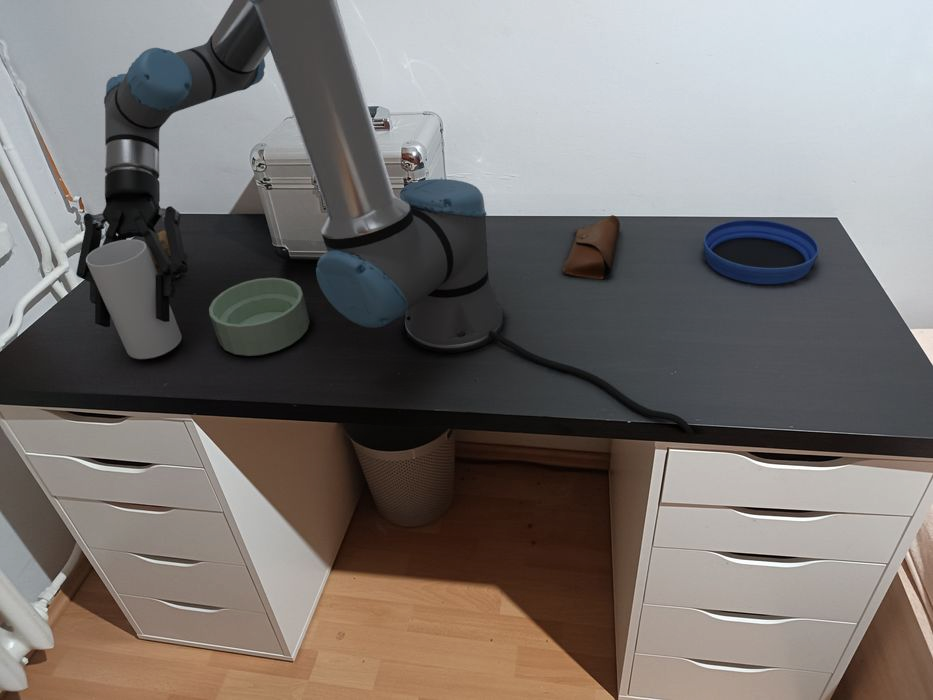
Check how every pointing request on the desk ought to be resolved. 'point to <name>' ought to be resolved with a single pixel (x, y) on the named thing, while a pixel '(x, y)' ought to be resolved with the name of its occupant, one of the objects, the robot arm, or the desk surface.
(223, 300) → the ceramic bowl
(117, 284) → the cup
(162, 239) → the lion figurine
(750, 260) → the blue plastic ring
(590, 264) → the sunglasses case
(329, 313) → the desk surface
